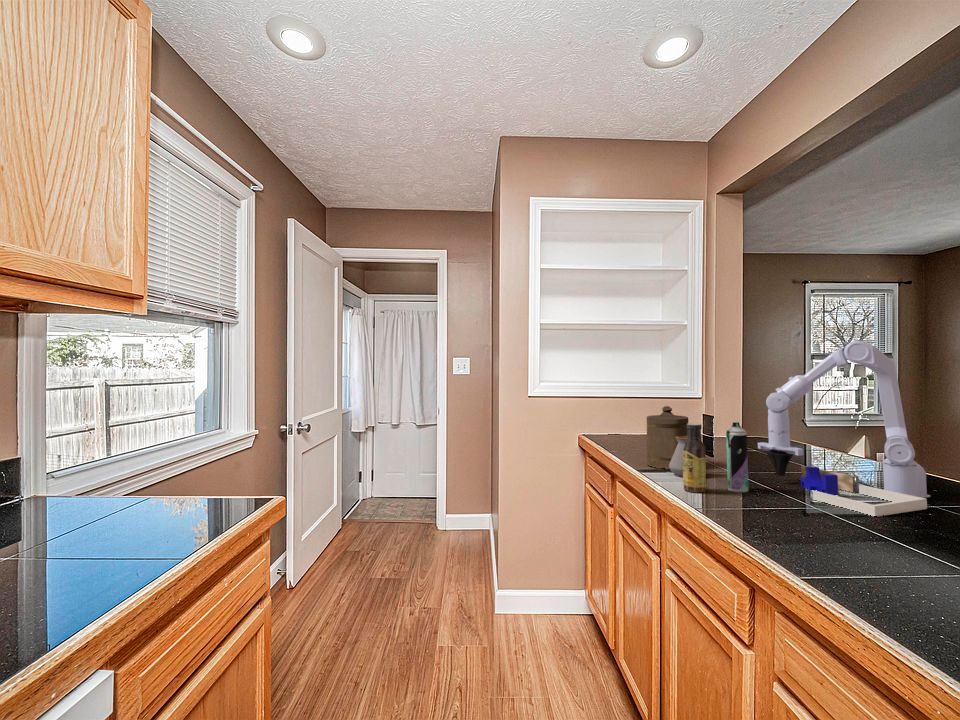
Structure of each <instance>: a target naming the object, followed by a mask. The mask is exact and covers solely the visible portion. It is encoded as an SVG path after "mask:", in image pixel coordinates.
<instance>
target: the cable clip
mask: <svg viewBox="0 0 960 720" xmlns="http://www.w3.org/2000/svg"><path fill="white" fill-rule="evenodd" d="M805 467H806V477H802V476H800V486H801V487H802V486H803V487H802V488H804V489H806V490H808V489H809V490H817V491H819V492H822V493H827V494H831V495H838V496H839V489H838V475H835V474H823V480H822V479H821V476H820V471H819V469H820V467H818V466H805ZM809 490H808V491H809Z"/></svg>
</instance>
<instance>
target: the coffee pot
mask: <svg viewBox="0 0 960 720" xmlns="http://www.w3.org/2000/svg"><path fill="white" fill-rule="evenodd" d="M675 438H676V440H677V441H678V445H677V447H676V449H675V452H674V454H673V457H672V459H671V461H670V464H669V468H670V471H671V473H673V474H674V476H676V475H677V476H676V477H680V476H681V477H680V478H683V449H684V446H685V443H686V440H687V436H677V437H675Z"/></svg>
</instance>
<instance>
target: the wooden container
mask: <svg viewBox="0 0 960 720" xmlns="http://www.w3.org/2000/svg"><path fill="white" fill-rule="evenodd" d="M661 411H662V413H660V414H655V415H647V416H646V462H647V463H646V464H647V466H648V465H649V466H648V467H650V466H652V467H651V468H653V467H656V468H655V469H658V468H665V469H664V470H669V469H670V468H669V464H670V461H671V459H672V457H673V454H674V452H675V449H676V447H677V445H678V441H677V440H676V438H675V437H677V436H687V424H688V423H689V417H688V416H685V415H676V414H674V413H673V412H672V411H673V408H672V407H670V406H669V405H668V406H665V405H664V406H663V407H662V410H661Z"/></svg>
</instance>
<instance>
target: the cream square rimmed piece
mask: <svg viewBox="0 0 960 720" xmlns="http://www.w3.org/2000/svg"><path fill="white" fill-rule="evenodd" d="M853 476H854V489H855V492H854V494H856V493H859V494H858V495H860V494H864V495H868V496H867V497H869V496H872V497H871V498H873V497H877V498H880V499H879V500H882V499H884V500H883V501H886V500H888V501H887V502H884V503H875V504H872V503H867V502H864V501H863V502H862V501H858V500H854V499H851V498H847V497H842V496H839V495H838V496H835V495H831V494H827V493H822V492H818V491H812V501H813V500H817V501H821V502H825V503H828V504H831V505H830V506H832V505H835V506H834V507H836V506H839V507H838V508H840V507H843V508H847V509H850V510H849V511H851V510H854V511H853V512H855V511H858V512H857V513H859V512H861V513H860V514H862V513H864V514H863V515H866V514H868V515H867V516H870V515H871V517H874V516H877V517H883V515H884V516H890V515H895V514H901V513H909V512H914V511H915V512H916V511H923V510H927V509H928V501H927V500H928V499H927V498H921V497H916V496H911V495H906V494H902V493H897V492H892V491H887V490H884V488H883V489H882V488H877V487H873V486H867V485H862V484H860V481H859V480H860V479H859V475H853ZM859 484H860V485H859ZM864 495H863V496H864ZM877 498H876V499H877ZM817 501H816V502H817ZM890 501H892V502H890ZM821 502H820V503H821ZM828 504H827V505H828ZM843 508H842V509H843ZM847 509H846V510H847Z"/></svg>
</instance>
